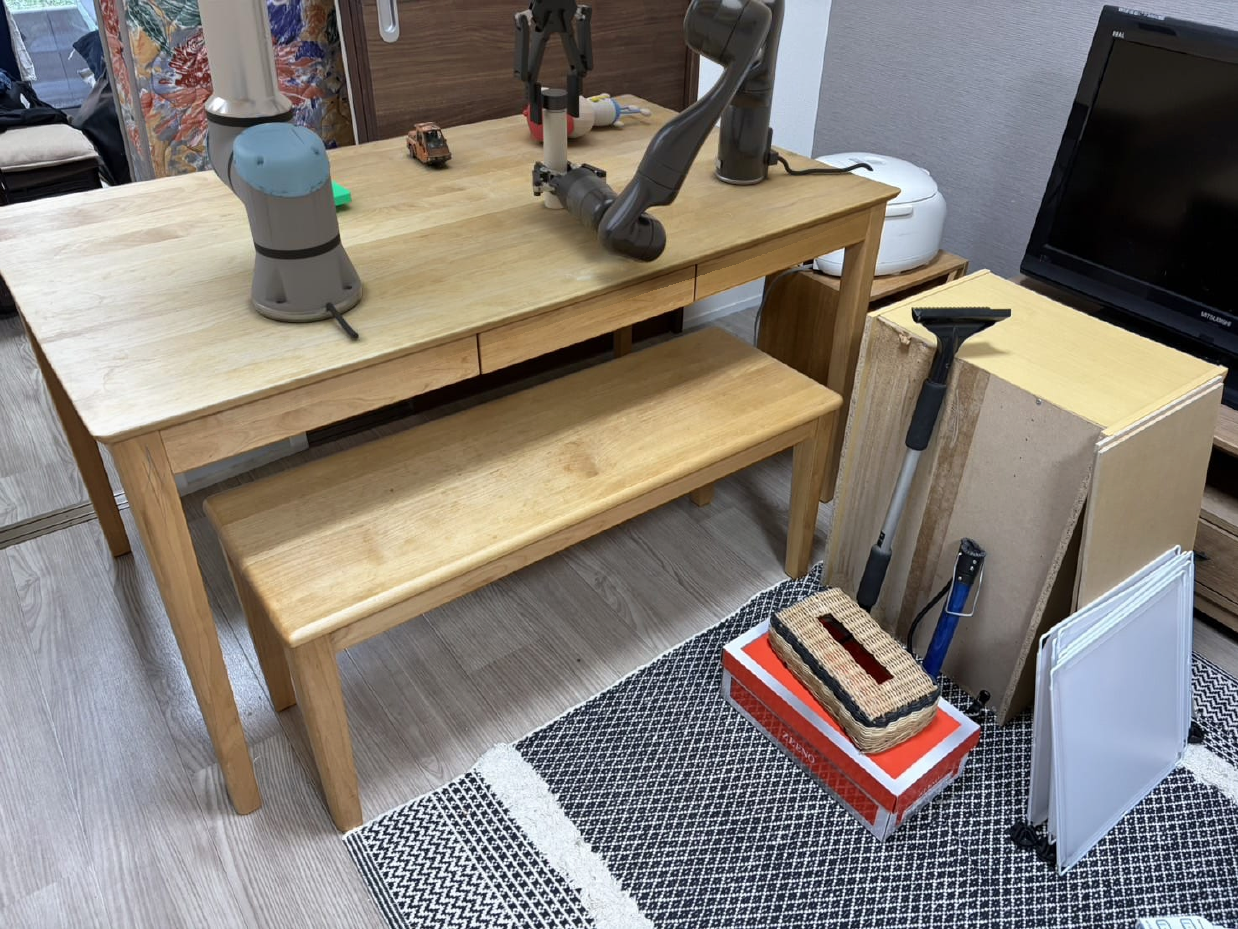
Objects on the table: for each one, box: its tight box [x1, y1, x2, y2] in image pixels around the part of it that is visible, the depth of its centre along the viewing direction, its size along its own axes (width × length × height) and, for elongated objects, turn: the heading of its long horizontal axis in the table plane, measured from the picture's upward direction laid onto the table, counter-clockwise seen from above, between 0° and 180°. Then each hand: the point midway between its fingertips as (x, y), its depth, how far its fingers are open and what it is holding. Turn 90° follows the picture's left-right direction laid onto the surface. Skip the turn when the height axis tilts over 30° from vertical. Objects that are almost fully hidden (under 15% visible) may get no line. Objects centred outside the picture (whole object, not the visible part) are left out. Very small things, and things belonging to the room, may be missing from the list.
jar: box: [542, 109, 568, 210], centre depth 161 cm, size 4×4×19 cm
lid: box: [541, 88, 568, 110], centre depth 155 cm, size 5×5×2 cm
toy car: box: [405, 121, 453, 169], centre depth 181 cm, size 6×12×7 cm, turn 39°
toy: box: [522, 86, 652, 143], centre depth 198 cm, size 18×10×30 cm
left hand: (554, 118), depth 157 cm, fingers open, 7 cm apart
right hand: (549, 165), depth 165 cm, fingers closed on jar, 4 cm apart
